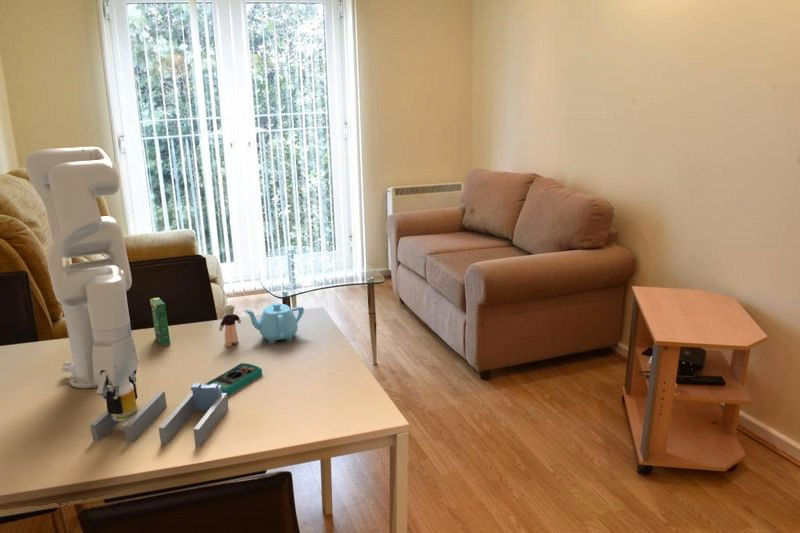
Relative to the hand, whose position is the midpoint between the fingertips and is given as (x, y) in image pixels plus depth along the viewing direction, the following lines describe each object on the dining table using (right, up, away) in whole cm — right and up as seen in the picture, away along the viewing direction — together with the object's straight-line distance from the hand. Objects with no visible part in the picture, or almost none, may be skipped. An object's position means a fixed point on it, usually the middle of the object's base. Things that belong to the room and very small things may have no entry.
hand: (123, 405), depth 135 cm
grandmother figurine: (+12, +8, +46) cm, 48 cm away
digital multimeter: (+19, 0, +21) cm, 29 cm away
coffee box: (-10, +8, +48) cm, 50 cm away
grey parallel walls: (+8, -5, +2) cm, 10 cm away
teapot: (+24, +9, +50) cm, 56 cm away
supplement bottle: (0, -3, +1) cm, 3 cm away
